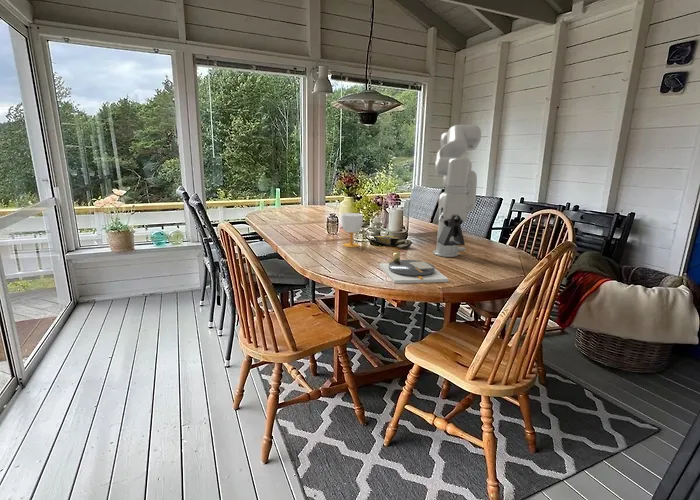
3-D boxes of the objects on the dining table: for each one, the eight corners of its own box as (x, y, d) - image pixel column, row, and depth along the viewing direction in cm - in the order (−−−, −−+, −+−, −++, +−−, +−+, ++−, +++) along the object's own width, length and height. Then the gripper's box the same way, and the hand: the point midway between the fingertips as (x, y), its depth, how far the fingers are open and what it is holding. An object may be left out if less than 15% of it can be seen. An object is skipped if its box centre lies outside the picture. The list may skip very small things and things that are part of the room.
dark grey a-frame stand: (458, 241, 158) (461, 212, 155) (464, 245, 152) (468, 215, 149) (437, 241, 156) (440, 213, 153) (443, 245, 151) (446, 215, 147)
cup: (341, 242, 214) (341, 212, 210) (362, 243, 213) (363, 213, 209) (339, 247, 202) (340, 215, 198) (362, 248, 202) (363, 216, 198)
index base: (426, 265, 173) (427, 261, 173) (448, 281, 150) (448, 277, 150) (379, 266, 170) (379, 262, 169) (394, 283, 147) (394, 279, 146)
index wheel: (391, 261, 172) (392, 249, 170) (435, 265, 167) (436, 253, 166) (385, 273, 154) (386, 260, 152) (433, 278, 149) (434, 264, 148)
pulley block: (401, 239, 197) (363, 230, 219) (400, 250, 197) (361, 240, 220) (419, 240, 206) (380, 231, 228) (417, 250, 207) (378, 241, 229)
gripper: (469, 189, 154) (465, 234, 159) (433, 189, 151) (429, 234, 156) (478, 191, 147) (474, 238, 151) (440, 191, 144) (437, 238, 149)
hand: (451, 236), depth 154 cm, fingers closed on dark grey a-frame stand, 1 cm apart
